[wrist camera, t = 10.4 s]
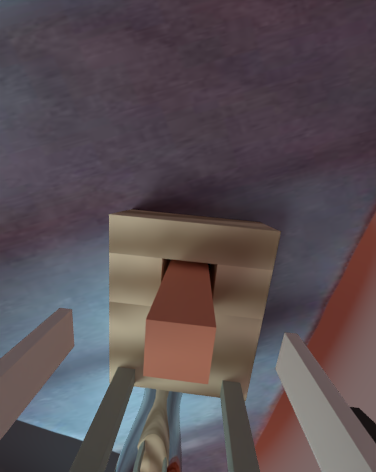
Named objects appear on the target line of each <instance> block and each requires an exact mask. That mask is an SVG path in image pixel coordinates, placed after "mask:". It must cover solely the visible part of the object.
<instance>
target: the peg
mask: <svg viewBox="0 0 376 472" xmlns="http://www.w3.org/2000/svg"><path fill="white" fill-rule="evenodd" d="M215 334H216V321H215V313H214V306H213V298H212V291H211V283H210V276H209V268H208V263H200V262H191V261H182V260H173V259H171V261H170V263H169V266H168V268H167V271H166V273H165V275H164V278H163V280H162V282H161V285H160V287H159V289H158V292H157V294H156V297H155V299H154V301H153V304H152V306H151V308H150V311H149V313H148V315H147V318H146V327H145V348H144V369H143V376H147V377H155V378H162V379H170V380H178V381H185V382H193V383H201V384H208V382H209V375H210V368H211V361H212V355H213V348H214V341H215Z"/></svg>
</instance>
